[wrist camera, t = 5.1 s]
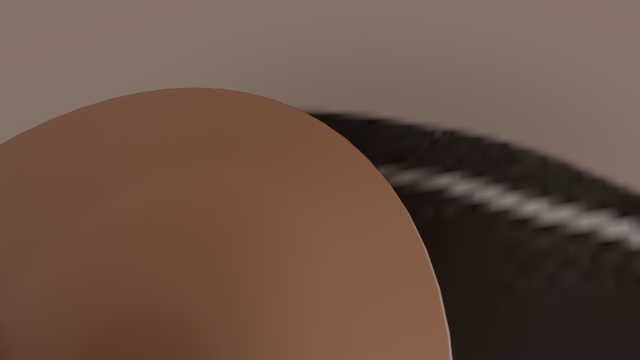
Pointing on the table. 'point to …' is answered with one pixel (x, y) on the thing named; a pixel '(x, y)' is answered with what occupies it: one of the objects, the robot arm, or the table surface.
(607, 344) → the table surface
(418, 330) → the tumbler
